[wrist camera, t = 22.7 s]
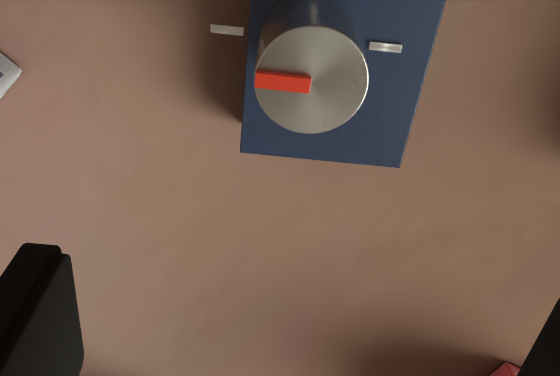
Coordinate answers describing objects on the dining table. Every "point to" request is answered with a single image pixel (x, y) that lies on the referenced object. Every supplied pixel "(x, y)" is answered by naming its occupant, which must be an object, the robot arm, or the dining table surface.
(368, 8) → the panel
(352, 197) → the dining table surface
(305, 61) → the tap knob
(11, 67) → the light bulb box
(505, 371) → the ink cartridge box
